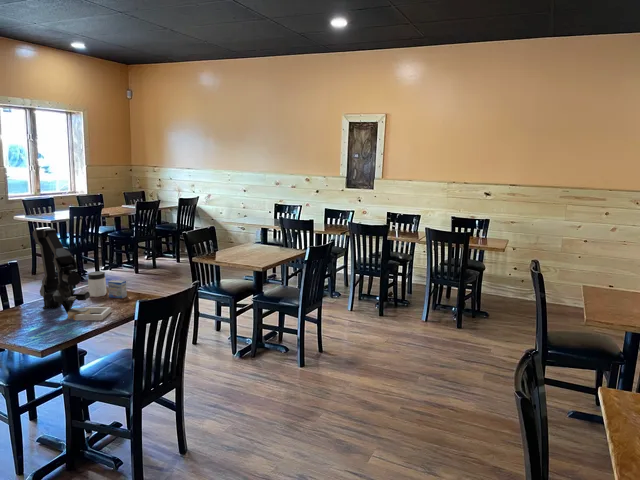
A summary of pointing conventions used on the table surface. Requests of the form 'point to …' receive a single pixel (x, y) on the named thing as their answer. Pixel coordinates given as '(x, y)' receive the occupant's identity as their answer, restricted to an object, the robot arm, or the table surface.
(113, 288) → the medicine box
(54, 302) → the robot arm
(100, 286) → the jar
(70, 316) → the grey beige block
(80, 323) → the table surface
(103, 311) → the frame
